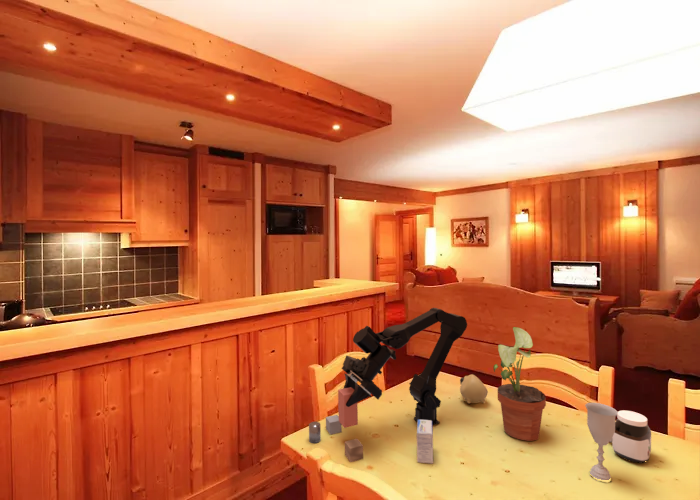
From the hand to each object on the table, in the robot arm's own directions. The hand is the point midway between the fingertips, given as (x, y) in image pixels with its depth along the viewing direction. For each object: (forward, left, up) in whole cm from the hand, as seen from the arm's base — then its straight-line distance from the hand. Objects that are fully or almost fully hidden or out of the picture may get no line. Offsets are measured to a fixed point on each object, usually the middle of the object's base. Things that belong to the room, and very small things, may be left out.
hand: (343, 402), depth 113 cm
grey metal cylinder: (+8, -5, -12) cm, 16 cm away
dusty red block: (-1, 0, -7) cm, 7 cm away
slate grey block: (0, -8, -13) cm, 15 cm away
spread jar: (-73, +39, -13) cm, 83 cm away
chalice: (-55, +43, -13) cm, 71 cm away
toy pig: (-56, -5, -13) cm, 57 cm away
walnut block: (0, +8, -13) cm, 15 cm away
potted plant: (-53, +19, -13) cm, 57 cm away
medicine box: (-19, +16, -13) cm, 28 cm away
